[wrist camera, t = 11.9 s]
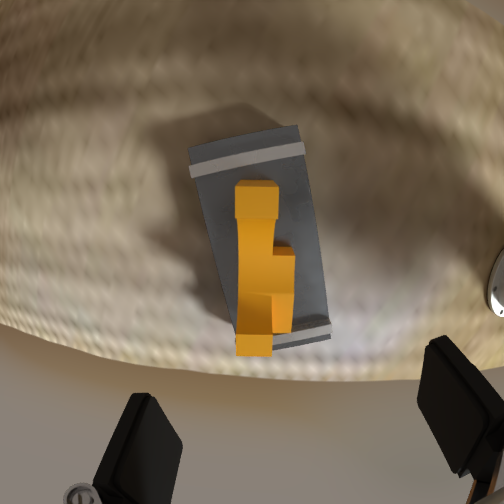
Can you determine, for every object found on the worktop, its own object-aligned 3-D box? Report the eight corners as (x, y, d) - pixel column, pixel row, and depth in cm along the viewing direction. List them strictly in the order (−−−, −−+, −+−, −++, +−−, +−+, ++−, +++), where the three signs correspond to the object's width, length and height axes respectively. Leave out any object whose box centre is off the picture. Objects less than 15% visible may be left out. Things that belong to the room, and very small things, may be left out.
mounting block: (290, 130, 27) (299, 122, 21) (321, 314, 33) (333, 345, 27) (198, 150, 27) (184, 147, 22) (243, 329, 33) (241, 362, 27)
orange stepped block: (287, 314, 27) (295, 356, 21) (240, 313, 27) (236, 355, 21) (294, 180, 23) (308, 188, 17) (240, 179, 23) (234, 186, 17)
